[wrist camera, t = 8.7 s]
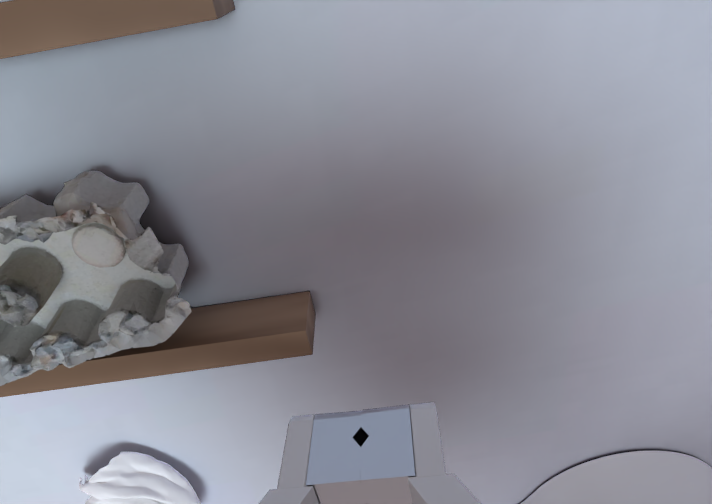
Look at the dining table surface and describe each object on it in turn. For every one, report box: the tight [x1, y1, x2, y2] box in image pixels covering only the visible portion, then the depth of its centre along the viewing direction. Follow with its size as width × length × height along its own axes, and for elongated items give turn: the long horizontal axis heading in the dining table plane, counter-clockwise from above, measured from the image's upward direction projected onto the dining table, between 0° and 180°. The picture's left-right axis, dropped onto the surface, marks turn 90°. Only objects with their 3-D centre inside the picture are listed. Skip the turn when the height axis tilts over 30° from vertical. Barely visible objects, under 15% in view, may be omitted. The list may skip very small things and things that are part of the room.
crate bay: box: [0, 0, 315, 397], centre depth 21 cm, size 16×20×3 cm
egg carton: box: [0, 171, 192, 386], centre depth 21 cm, size 11×8×4 cm
